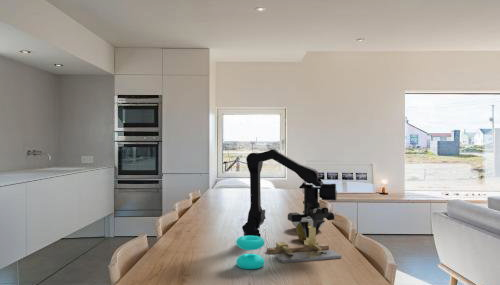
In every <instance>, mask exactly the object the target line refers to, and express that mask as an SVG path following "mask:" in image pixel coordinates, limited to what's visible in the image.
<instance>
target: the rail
mask: <svg viewBox="0 0 500 285" xmlns="http://www.w3.org/2000/svg"><path fill="white" fill-rule="evenodd" d="M318 246H319V247H320V248H322V251H324V250H330V246H329V245H328V244H327V243H318ZM311 251H317V250H316V249H315V248H313V247H308V246H307V245H305V244H303V245H302V244H301V245H292V246H290V245H289V244H288V243H287V242H285V241H279V242H278V241H276V242H275V246H273V247H266V252H267V253H268V254H269V255H271V254H285V253H289V255H291V253H298V252H311Z"/></svg>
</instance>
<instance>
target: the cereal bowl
mask: <svg viewBox="0 0 500 285" xmlns="http://www.w3.org/2000/svg"><path fill="white" fill-rule="evenodd" d="M307 217H310V216H307ZM307 221H308V222H309V224H310V226H313V220H312V219H307ZM298 223H300V222H291V224H292V225H293V226H294V227H295V228H296V227H297V225H298ZM324 223H325V222H323V223H322V224H321V225H320V227H319V229H320V228H322V227H323V226H324Z"/></svg>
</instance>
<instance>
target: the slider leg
mask: <svg viewBox="0 0 500 285" xmlns="http://www.w3.org/2000/svg"><path fill="white" fill-rule="evenodd" d="M318 244H319V242H317V235H316V227H314V226H308V238H307V237H306V240H304V242H303V245H307V246H308V247H313V248H315V249H316V250H315V251H319V253H322V251H323V250H322V248H320V247H319V246H318Z"/></svg>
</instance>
